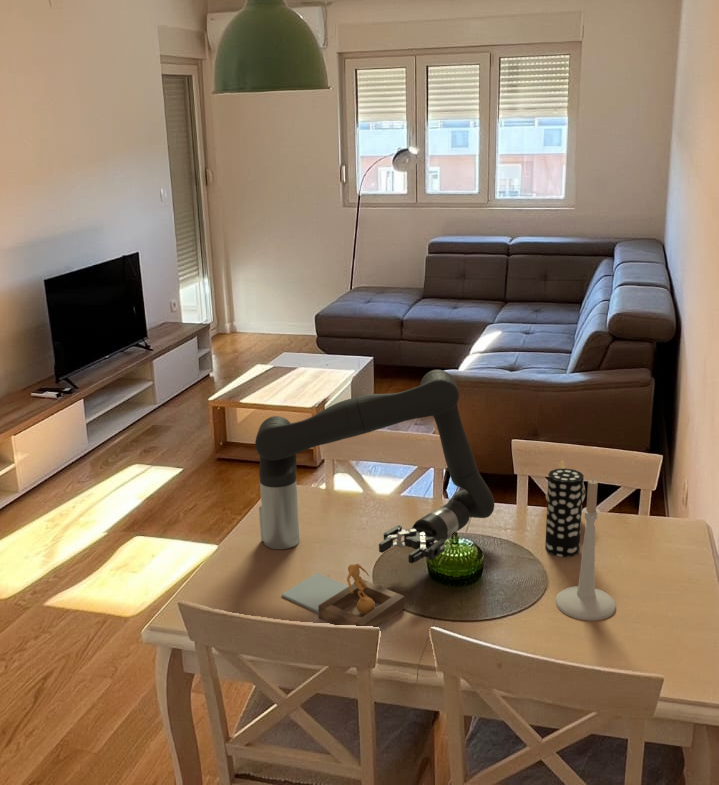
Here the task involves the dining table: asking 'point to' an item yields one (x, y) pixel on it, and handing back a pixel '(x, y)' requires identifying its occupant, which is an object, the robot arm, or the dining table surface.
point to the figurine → (365, 602)
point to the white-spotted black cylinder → (564, 512)
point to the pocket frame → (336, 604)
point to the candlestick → (587, 574)
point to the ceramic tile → (314, 591)
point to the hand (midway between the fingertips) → (394, 554)
